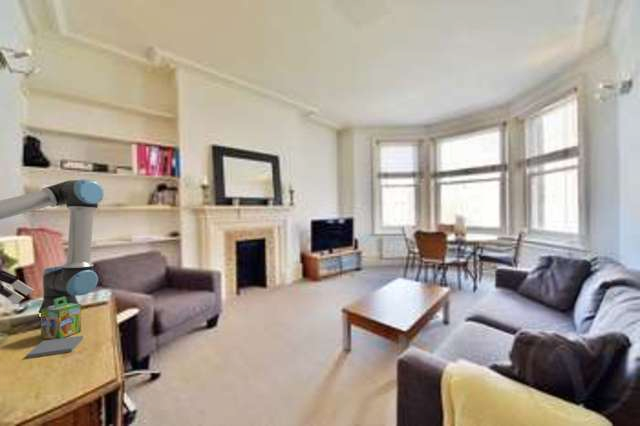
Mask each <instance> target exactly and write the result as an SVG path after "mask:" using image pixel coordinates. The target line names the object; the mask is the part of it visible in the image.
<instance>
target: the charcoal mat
mask: <svg viewBox="0 0 640 426" xmlns="http://www.w3.org/2000/svg"><path fill="white" fill-rule="evenodd" d="M83 340H84V336H83V335H78V336H77V335H76V336H67V337H65V338H61V339H45V340H42V341H41V342H40V343H39V344H37V345H36V346H35V347H34V348H32V350H30V351H29V352H28V353H27V354H26V359H31V358H39V357H44V356H52V355H59V354H65V353H72V352H73V351H74V349H75V348H76V347H77V346H79V345H78V344H80V343H81V342H82V341H83Z"/></svg>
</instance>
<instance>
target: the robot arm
mask: <svg viewBox="0 0 640 426" xmlns="http://www.w3.org/2000/svg"><path fill="white" fill-rule="evenodd" d="M104 195H105V192H104V189H103V187H102V186H101V184H99V182H97V181H95V180H93V179H84V178H82V179H74V180H73V179H72V180H70V179H69V180H66V181H62V182H59V183H56V184H53V185H49V186H46V187H42V188H41V190H39V191H34V192H30V193H27V194H21V195H19V196H14V197H10V198H5V199H3V200H2V199H1V200H0V221H1V220H4V219H7V218H11V217H14V216H18V215H22V214H25V213H30V212H33V211H37V210H40V209H43V208H47V207H51V208H55V207H58V206H64V205H66V208H67V209H68V210H69V211H70V213H69V225H68V226H69V227H68V240H67V253H66V263H64V264H63V265H60V266H59V265H58V266H52V267H46V268H45V269H44V270H43V274H42V278H43V280H42V282H43V283H42V285H43V287H42V290H43V292H42V295H43V296H42V297H43V299H42V302H41V305H40V307H39V310H38V312H39V313H41V309H43V308H46V307H50V306H53V305H54V299H57V298H60V297H66V301H67V303H75V304H79V302H78V299H77V297H76V296H85V295H87V294H89V293H91V292H93V290H94V289H95V288H96V287H97V285H98V282H99V276H98V274H97V273H96V272H95V271H94V266H95V265H94V263H92V262H91V251H92V241H93V240H92V239H93V225H94V224H93V222H94V212H95V211H97V210H98V205H99V203H101V201H102V200H103V199H104ZM19 279H20V277H19V276H16V275H14V274H12V273H10V272H7V271H5V270H3V269H1V268H0V295H1V297H4V298H5V299H7V300H9V301H10V302H12V303H14V304H16V305H17V304H19V303H20V302H21V301H23V300H24V299H25V297H24V296H26V297H27V296H28V295H29V294H30V293H32V292H33V291H34V288H32V287H30V286H28V285H27V284H25V282H22V281H21V280H19ZM2 283H5V284H9V285H10V287H12V288H14V290H17V291H18V292H20V293H21V294H23V295H24V296H23V295H21V294H19V293H18V292H16V291H14V290H13V289H11V288H9V287H8V286H5V285H3V284H2ZM61 303H63V300H60V301H58V304H61Z"/></svg>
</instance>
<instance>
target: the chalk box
mask: <svg viewBox="0 0 640 426" xmlns="http://www.w3.org/2000/svg"><path fill="white" fill-rule="evenodd" d="M60 300H63V303H61V304H58V301H60ZM81 331H82V304H80V303H78V304H75V303H67V301H66V297H60V298H57V299H54V305H53V306H50V307H46V308H43V309H41V318H40V339H42V340H43V339H45V340H53V339H61V338H68V337H71V336H73V335H77V334H79V333H81Z"/></svg>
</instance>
